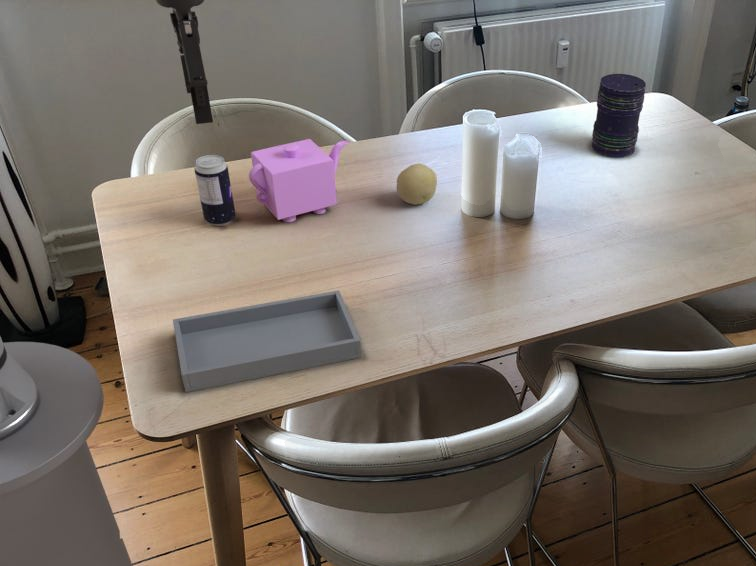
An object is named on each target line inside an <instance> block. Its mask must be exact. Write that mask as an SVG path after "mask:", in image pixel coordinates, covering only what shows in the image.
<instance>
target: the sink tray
mask: <svg viewBox="0 0 756 566" xmlns="http://www.w3.org/2000/svg"><path fill="white" fill-rule="evenodd" d="M172 323H173V324H172V325H173V331H174V336H175V342H176V343H175V344H176V349H177V354H178V356H177V357H178V362H179V368H180V374H181V375H180V376H181V379H182V383H183V388H184V391H185V393H192V392H195V391H200V390H205V389H206V390H207V389H211V388H215V387H220V386H226V385H230V384H236V383H241V382H245V381H250V380H255V379H256V380H257V379H261V378H266V377H270V376H275V375H280V374H287V373H291V372H295V371H300V370H306V369H311V368H314V367H315V368H316V367H320V366H326V365H330V364H336V363H340V362H344V361H345V362H346V361H351V360H355V359H360V358H362V344H361V338H360V336H359V334H358V331H357V329H356V327H355V324H354V321H353V319H352V317H351V315H350V312H349V310H348V308H347V305H346V303H345V300H344V297H343V296H342V294H341V291H340V290H334V291H328V292H322V293H321V292H320V293H316V294H311V295H305V296H299V297H294V298H288V299H282V300H276V301H272V302H265V303H258V304H254V305H253V304H252V305H249V306H242V307H237V308H231V309H224V310H219V311H213V312H207V313H202V314H196V315H195V314H194V315H190V316H184V317H179V318H173V319H172Z"/></svg>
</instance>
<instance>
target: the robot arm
mask: <svg viewBox="0 0 756 566" xmlns="http://www.w3.org/2000/svg"><path fill="white" fill-rule="evenodd" d="M155 2H156V3H157V5H159V6H161V7H163V8H166V9H170V8H172V12H170V13H169V16H170V22H171V24H172V28H173V30H174V33H175V35H176V39H177V40H176V43H177V46H178V52H179V53H180V55H179V57H180V62H181V67H182V72H183V77H184V83H185V84H184V85H185V88H186V89H185V90H186V94H190V97H191V103H192V109H193V114H194V118H195V124H196V125H202V124H209V123H210V124H211V123H214V120H213V114H212V108H211V101H210V96H209V89H208V79H207V77H206V71H205V67H204V61H203V56H202V52H201V51H202V50H201V47H200V46H201V38H200V33H199V21H198V16H196V11H195V10H194V11H193V10H191V9H192V8H193V7H199V6H200V5H202V4H204V2H205V0H155ZM3 343H4V342H3V340H2V337H1V336H0V441H1V440H3V439H5V438H7V437H9V436H11V435H13V434H14V433H16V432H17V431H19V430H20V429H21V428H23V427H24V426H25V425H26V424H27V423H28V422H29V421H30V420H31V419H32V418H33V416H34V415H35V413H36V412H37V410H38V408H39V404H40V394H39V391H38V388H37V386H36V384H35V381H34V380H33V379H32V377H31V376H30V375H29V374H28V373H27V372H26V371H25V370H24V369H23V368H22V367H21V366H20V365H19V364H18V363H17V362H16V361H15V360H14V359H13V358H12V357H11V356H10V355H8V353H7V352H6V349H5V347H4V344H3Z"/></svg>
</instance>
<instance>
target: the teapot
mask: <svg viewBox="0 0 756 566" xmlns="http://www.w3.org/2000/svg"><path fill="white" fill-rule="evenodd" d="M349 143H350V140H342V141H338V142H337V143H335V144H334V145H333V147H332V148H331V150H330V153H329V155H328V154H327V153H326V152H325V151H324V150H323V149H322V148H321V147H320V146H318V145H317V144H316V143H315V142H314V141H313V140H312V139H311V138H307V139H303V140H299V141H294V142H288V143H285V144H280V145H275V146H272V147H266V148H262V149H259V150H254V151H251V152H250V157H251V164H252V168H251V169H250V171H249V172H248V179H249V181H250V183H251V184H252V186H253V187H254V188H255V191H256V200H257V201H258V203H259V204H260V205H264V207H266V208H267V209H268V210H269V211H270V213H271V214H272V215H273V216H274V217H275V218H276V219H277V220H278V221H280V220H282V221H283V222H285V223H293V222H295V221H296V219H297V216H298V215H302V214H306V213H309V212H312V213H313V214H316V215H321V214H324V213H326V212H327V209H326V208H329V207H332V206H337V205H338V199H337V187H336V174H337V170H338V165H339V159H340V158H339V157H340V154H341V151H342V150H343V149H344V147H345V146H347V145H348V144H349Z"/></svg>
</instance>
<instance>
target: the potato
mask: <svg viewBox="0 0 756 566" xmlns="http://www.w3.org/2000/svg"><path fill="white" fill-rule="evenodd" d="M437 185H438V177H437V174H436V172H435V171H434V169H432V168H430V167H429V166H427V165H426V164H423V163H414V164H411V165H409V166H408V167H406V168H404V169H403V170H402V171H401V172H400V173H399V174H398V175H397V178H396V188H395V189H396V192H397V194H398V196H399V197H400V199H401V200H403V201H404V202H406V203H408V204H410V205H421V204H424V203H427V202H429V201H430V200H431V199H433V198H434V196H435V194H436V190H437Z"/></svg>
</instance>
